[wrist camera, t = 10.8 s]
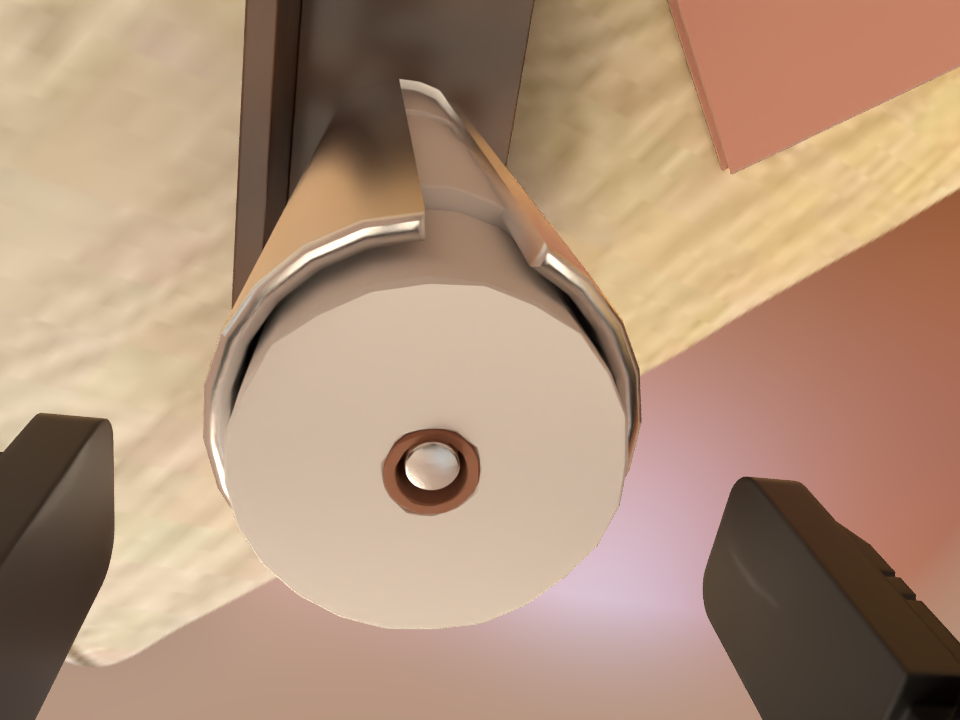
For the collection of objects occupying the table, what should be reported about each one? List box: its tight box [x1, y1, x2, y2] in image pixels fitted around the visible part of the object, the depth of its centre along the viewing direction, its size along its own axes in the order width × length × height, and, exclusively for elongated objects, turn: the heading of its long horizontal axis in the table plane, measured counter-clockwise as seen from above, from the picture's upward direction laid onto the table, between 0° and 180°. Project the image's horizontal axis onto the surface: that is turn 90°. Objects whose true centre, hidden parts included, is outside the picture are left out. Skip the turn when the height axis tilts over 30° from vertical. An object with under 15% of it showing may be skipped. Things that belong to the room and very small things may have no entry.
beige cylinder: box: [203, 79, 641, 629], centre depth 22 cm, size 6×6×25 cm
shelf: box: [232, 0, 535, 309], centre depth 35 cm, size 22×10×16 cm, turn 171°
